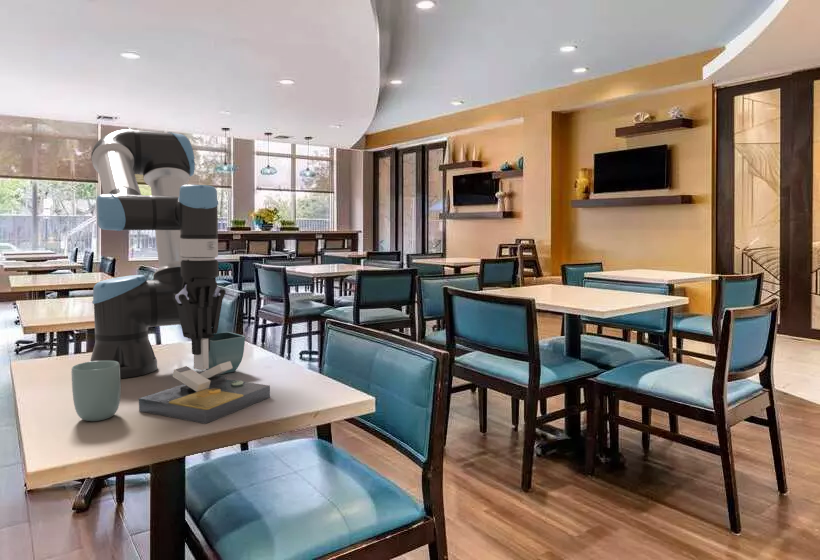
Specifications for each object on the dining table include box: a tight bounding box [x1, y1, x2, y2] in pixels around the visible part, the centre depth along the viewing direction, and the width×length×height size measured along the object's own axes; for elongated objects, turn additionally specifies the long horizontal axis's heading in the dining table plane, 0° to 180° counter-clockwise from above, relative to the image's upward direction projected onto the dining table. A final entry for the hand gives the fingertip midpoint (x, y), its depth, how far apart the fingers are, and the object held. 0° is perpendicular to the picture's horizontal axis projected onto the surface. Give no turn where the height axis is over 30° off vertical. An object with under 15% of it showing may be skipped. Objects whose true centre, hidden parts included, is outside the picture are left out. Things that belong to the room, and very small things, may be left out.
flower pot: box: [205, 331, 246, 376], centre depth 141 cm, size 9×9×9 cm
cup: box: [70, 360, 122, 422], centre depth 107 cm, size 8×8×10 cm
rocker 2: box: [199, 361, 233, 379], centre depth 123 cm, size 7×3×2 cm, turn 63°
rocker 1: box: [172, 365, 211, 392], centre depth 117 cm, size 7×3×2 cm, turn 66°
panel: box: [138, 374, 271, 425], centre depth 116 cm, size 17×18×3 cm
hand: (201, 368), depth 125 cm, fingers closed
